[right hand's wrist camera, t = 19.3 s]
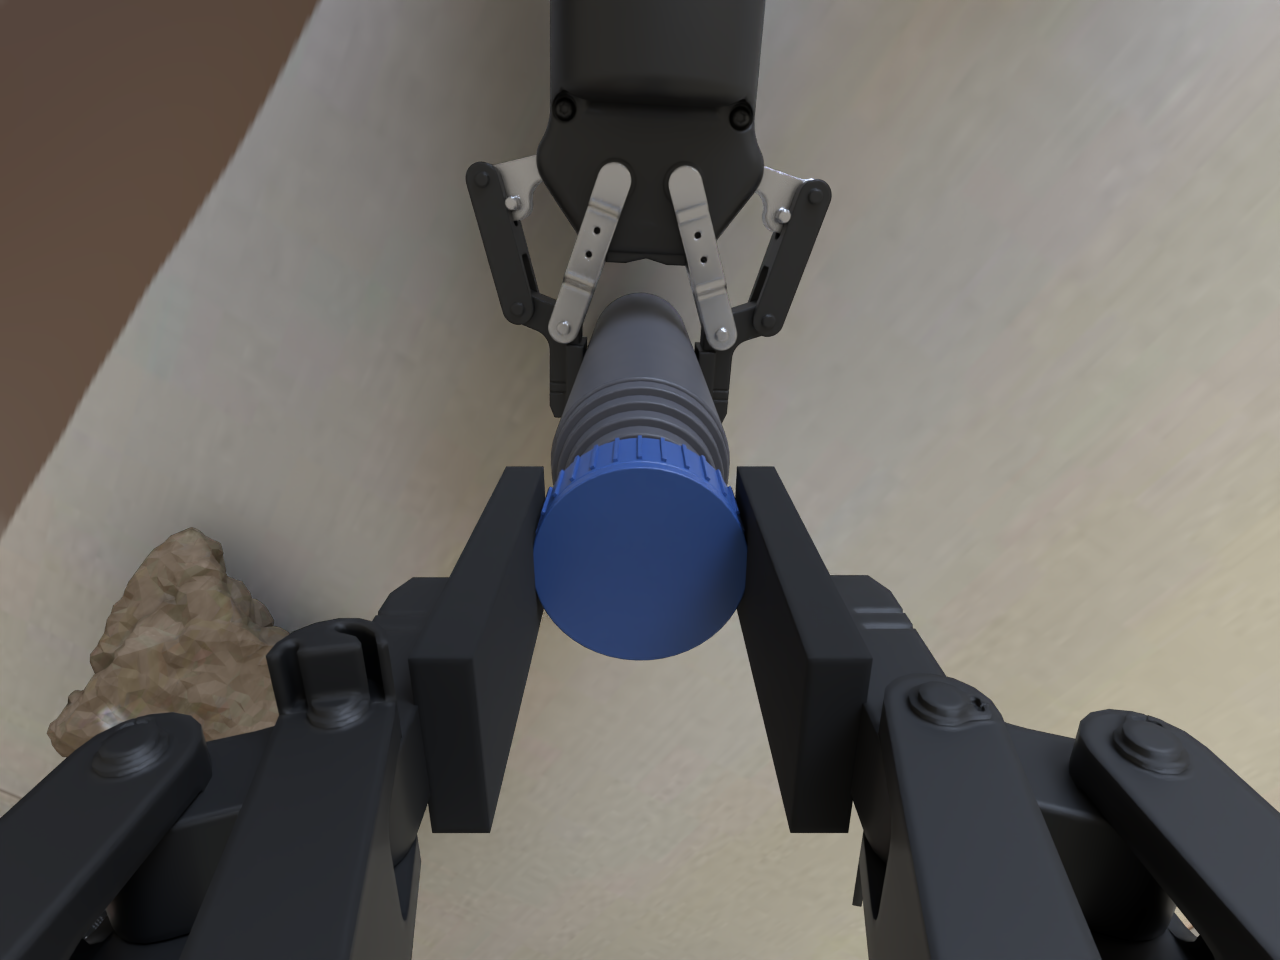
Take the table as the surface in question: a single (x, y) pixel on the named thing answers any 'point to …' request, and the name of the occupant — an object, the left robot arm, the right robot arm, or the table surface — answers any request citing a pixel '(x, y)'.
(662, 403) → the bottle
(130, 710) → the stone
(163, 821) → the right robot arm
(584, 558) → the cap
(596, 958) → the table surface
